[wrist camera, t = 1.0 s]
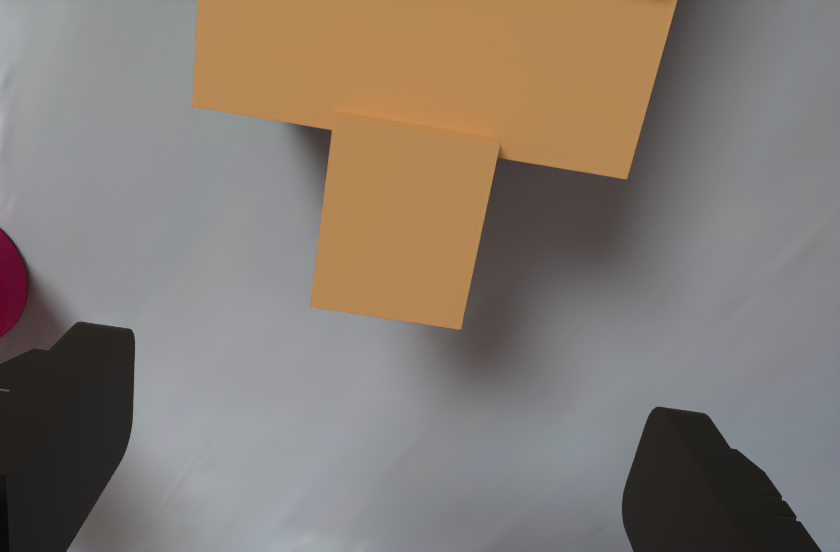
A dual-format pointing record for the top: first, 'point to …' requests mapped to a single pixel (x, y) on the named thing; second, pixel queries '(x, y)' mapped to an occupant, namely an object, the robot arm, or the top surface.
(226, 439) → the top surface
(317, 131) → the top surface
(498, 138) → the wooden paddle board
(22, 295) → the pepper mill
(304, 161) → the top surface
